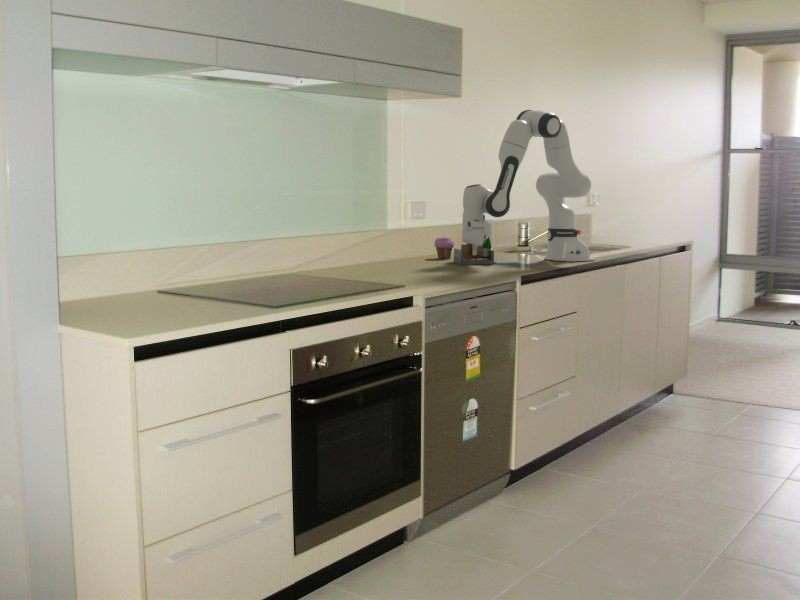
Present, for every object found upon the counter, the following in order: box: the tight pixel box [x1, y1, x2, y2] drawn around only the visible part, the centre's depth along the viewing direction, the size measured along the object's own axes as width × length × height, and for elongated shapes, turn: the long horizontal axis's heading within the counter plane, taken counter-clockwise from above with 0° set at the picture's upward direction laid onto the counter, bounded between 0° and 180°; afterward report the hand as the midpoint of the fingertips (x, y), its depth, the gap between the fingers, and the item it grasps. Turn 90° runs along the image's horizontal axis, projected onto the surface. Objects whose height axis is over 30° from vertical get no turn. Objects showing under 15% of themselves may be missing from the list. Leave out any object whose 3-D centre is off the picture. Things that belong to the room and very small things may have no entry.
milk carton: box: [483, 214, 494, 250], centre depth 395 cm, size 9×9×20 cm
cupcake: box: [434, 236, 455, 260], centre depth 397 cm, size 9×9×10 cm
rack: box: [453, 248, 495, 266], centre depth 377 cm, size 14×11×6 cm
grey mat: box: [494, 260, 520, 265], centre depth 380 cm, size 10×9×1 cm
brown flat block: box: [460, 243, 483, 259], centre depth 380 cm, size 9×2×8 cm, turn 102°
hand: (471, 254), depth 380 cm, fingers open, 5 cm apart
